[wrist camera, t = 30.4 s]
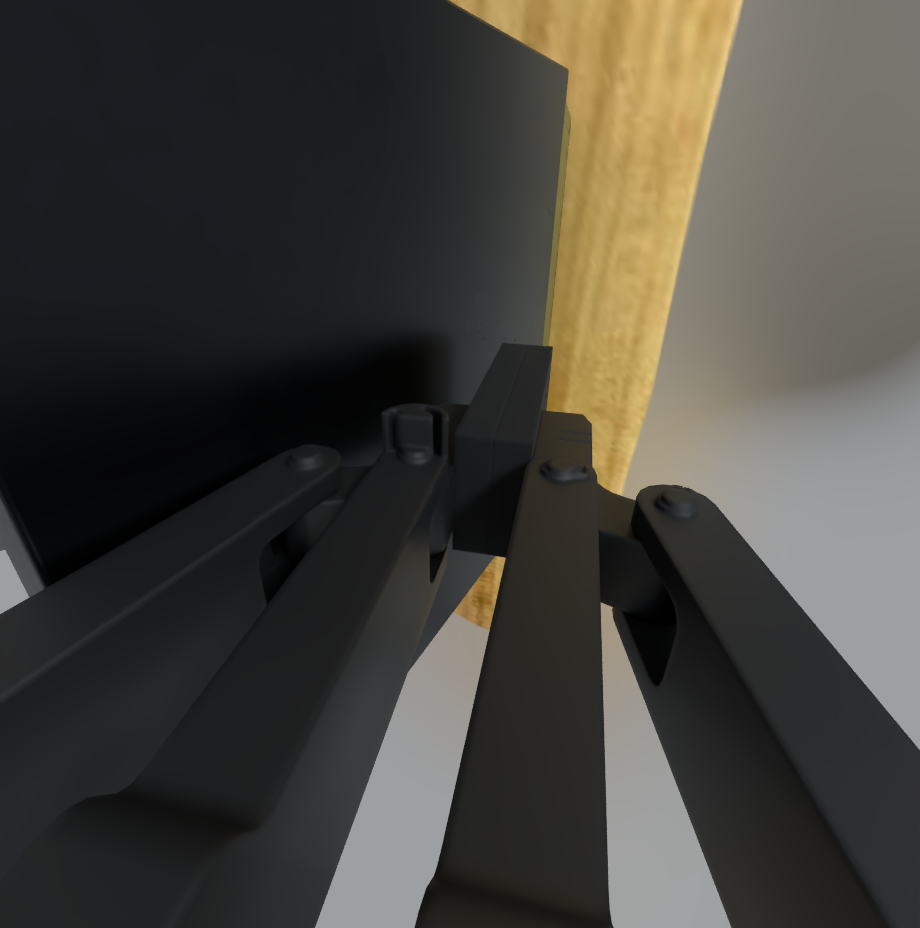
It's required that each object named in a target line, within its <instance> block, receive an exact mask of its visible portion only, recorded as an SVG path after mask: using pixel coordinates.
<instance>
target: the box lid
mask: <svg viewBox="0 0 920 928" xmlns="http://www.w3.org/2000/svg"><path fill="white" fill-rule="evenodd" d="M568 72H569V71H568V69H567V68H565V67H563V66H562V65H560V64H558V63H557V62H555V61H553V60H551V59H550V58H548V57H546V56H544V55H543V54H541V53H539V52H537V51H536V50H534V49H532V48H530V47H529V46H527V45H525V44H523V43H522V42H520V41H518V40H516V39H515V38H513V37H511V36H509V35H508V34H506V33H504V32H502V31H501V30H499V29H497V28H495V27H494V26H492V25H490V24H488V23H487V22H485V21H483V20H481V19H480V18H478V17H476V16H475V15H473V14H471V13H469V12H468V11H466V10H464V9H462V8H461V7H459V6H457V5H455V4H454V3H452V2H450V1H448V0H0V540H1V542H2V544H3V546H4V548H5V550H6V552H7V554H8V556H9V557H10V560H11V562H12V564H13V566H14V568H15V570H16V571H17V574H18V576H19V578H20V580H21V582H22V584H23V585H24V588H25V589H26V591H27V593H28V595H29V597H31V596H33V595H35V594H37V593H38V592H40V591H42V590H43V589H45V588H47V587H49V586H50V585H52V584H54V583H56V582H57V581H59V580H61V579H63V578H64V577H66V576H68V575H70V574H71V573H73V572H75V571H76V570H78V569H80V568H82V567H83V566H85V565H87V564H89V563H90V562H92V561H94V560H96V559H97V558H99V557H101V556H103V555H104V554H106V553H108V552H109V551H111V550H113V549H115V548H116V547H118V546H120V545H122V544H123V543H125V542H127V541H129V540H130V539H132V538H134V537H136V536H137V535H139V534H141V533H142V532H144V531H146V530H148V529H149V528H151V527H153V526H155V525H156V524H158V523H160V522H162V521H163V520H165V519H167V518H169V517H170V516H172V515H174V514H175V513H177V512H179V511H181V510H182V509H184V508H186V507H188V506H189V505H191V504H193V503H195V502H196V501H198V500H200V499H202V498H203V497H205V496H207V495H208V494H210V493H212V492H214V491H215V490H217V489H219V488H221V487H222V486H224V485H226V484H228V483H229V482H231V481H233V480H235V479H236V478H238V477H240V476H241V475H243V474H245V473H247V472H248V471H250V470H252V469H254V468H255V467H257V466H259V465H261V464H262V463H264V462H266V461H268V460H269V459H271V458H273V457H274V456H276V455H278V454H280V453H282V452H284V451H287V450H289V449H292V448H297V447H300V446H302V445H309V446H310V445H319V446H324V447H329V448H332V449H334V450H336V451H337V452H338V453H339V454H340V455H341V460H342V468H343V467H363V466H372V465H373V464H374V463H375V462H376V460H377V459H378V458H379V456H380V455H381V454H382V452H383V435H382V418H381V413H382V412H383V411H385V410H386V409H388V408H390V407H393V406H397V405H402V404H409V403H418V404H428V405H434V406H438V405H440V404H442V403H454V404H464V405H470V403H471V401H472V399H473V398H474V396H475V394H476V392H477V390H478V388H479V386H480V384H481V382H482V381H483V379H484V377H485V375H486V373H487V371H488V369H489V367H490V365H491V364H492V362H493V360H494V358H495V356H496V354H497V352H498V350H499V348H500V347H501V345H502V343H511V344H525V345H538V346H543V337H544V326H545V315H546V305H547V294H548V284H549V273H550V263H551V252H552V241H553V231H554V220H555V210H556V199H557V189H558V178H559V168H560V157H561V146H562V136H563V125H564V115H565V104H566V94H567V83H568ZM452 535H453V531H452V534H451V536H450V539H449V541H448V544H447V566H446V568H445V571H444V574H443V577H442V579H441V582H440V585H439V588H438V590H437V593H436V596H435V599H434V601H433V604H432V607H431V610H430V612H429V615H428V618H427V621H426V623H425V626H424V629H423V632H422V634H421V637H420V640H419V643H418V645H417V648H416V651H415V654H414V656H413V659H412V662H411V665H410V667H409V670H410V669H411V667H412V666H413V665H414V663H415V662H416V661H417V659H418V658H419V657H420V655H421V654H422V653H423V651H424V650H425V649H426V647H427V646H428V645H429V643H430V642H431V641H432V639H433V638H434V637H435V635H436V634H437V633H438V631H439V630H440V629H441V627H442V626H443V625H444V623H445V622H446V621H447V619H448V618H449V617H450V615H451V614H452V613H453V611H454V610H455V609H456V607H457V606H458V605H459V603H460V602H461V601H462V599H463V598H464V597H465V595H466V594H467V593H468V591H469V590H470V589H471V587H472V586H473V585H474V583H475V582H476V581H477V579H478V578H479V577H480V575H481V574H482V573H483V571H484V570H485V569H486V567H487V566H488V565H489V563H490V562H491V561H492V559H493V558H494V557H495V556H493V555H486V554H479V553H472V552H466V551H459V550H452ZM270 542H271V547H272V552H273V554H274V555H276V554H278V553H280V552H281V551H282V550H284V549H285V544H284V538H283V532H281V533H280V534H278V535H277V536H276V537H274V538H273V539H272V540H271V541H270ZM409 670H408V671H409Z"/></svg>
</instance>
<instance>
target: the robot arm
mask: <svg viewBox="0 0 920 928" xmlns="http://www.w3.org/2000/svg"><path fill="white" fill-rule="evenodd" d="M552 350H553V347H551V346H538V345H525V344H511V343H502V345H501V347H500V348H499V350H498V352H497V354H496V356H495V358H494V360H493V362H492V364H491V365H490V367H489V369H488V371H487V373H486V375H485V377H484V379H483V381H482V382H481V384H480V386H479V388H478V390H477V392H476V394H475V396H474V398H473V399H472V401H471V403H470V405H464V404H454V403H442V404H440V405H438V406H434V405H428V404H418V403H409V404H402V405H397V406H393V407H390V408H388V409H386V410H385V411H383V412H382V413H381V418H382V435H383V452H382V454H381V455H380V456H379V458H378V459H377V460H376V462H375V463H374V464H373V465H372V466H363V467H343V468H342V460H341V455H340V454H339V453H338V452H337V451H336V450H334V449H332V448H329V447H324V446H319V445H310V446H309V445H302V446H300V447H297V448H292V449H289V450H287V451H284V452H282V453H280V454H278V455H276V456H274V457H273V458H271V459H269V460H268V461H266V462H264V463H262V464H261V465H259V466H257V467H255V468H254V469H252V470H250V471H248V472H247V473H245V474H243V475H241V476H240V477H238V478H236V479H235V480H233V481H231V482H229V483H228V484H226V485H224V486H222V487H221V488H219V489H217V490H215V491H214V492H212V493H210V494H208V495H207V496H205V497H203V498H202V499H200V500H198V501H196V502H195V503H193V504H191V505H189V506H188V507H186V508H184V509H182V510H181V511H179V512H177V513H175V514H174V515H172V516H170V517H169V518H167V519H165V520H163V521H162V522H160V523H158V524H156V525H155V526H153V527H151V528H149V529H148V530H146V531H144V532H142V533H141V534H139V535H137V536H136V537H134V538H132V539H130V540H129V541H127V542H125V543H123V544H122V545H120V546H118V547H116V548H115V549H113V550H111V551H109V552H108V553H106V554H104V555H103V556H101V557H99V558H97V559H96V560H94V561H92V562H90V563H89V564H87V565H85V566H83V567H82V568H80V569H78V570H76V571H75V572H73V573H71V574H70V575H68V576H66V577H64V578H63V579H61V580H59V581H57V582H56V583H54V584H52V585H50V586H49V587H47V588H45V589H43V590H42V591H40V592H38V593H37V594H35V595H33V596H31V597H30V598H28V599H26V600H24V601H23V602H21V603H19V604H18V605H16V606H14V607H12V608H11V609H9V610H7V611H5V612H4V613H2V614H0V928H315V926H316V923H317V920H318V918H319V915H320V912H321V909H322V906H323V904H324V901H325V898H326V895H327V893H328V890H329V887H330V885H331V882H332V879H333V876H334V874H335V871H336V868H337V865H338V863H339V860H340V857H341V854H342V852H343V849H344V846H345V843H346V840H347V838H348V835H349V832H350V829H351V827H352V824H353V821H354V819H355V816H356V813H357V810H358V808H359V805H360V802H361V799H362V797H363V794H364V791H365V788H366V786H367V783H368V780H369V777H370V775H371V772H372V769H373V766H374V763H375V761H376V758H377V755H378V753H379V750H380V747H381V744H382V742H383V739H384V736H385V733H386V730H387V728H388V725H389V722H390V720H391V717H392V714H393V711H394V709H395V706H396V703H397V700H398V697H399V695H400V692H401V689H402V687H403V684H404V681H405V678H406V676H407V673H408V670H409V667H410V665H411V662H412V659H413V656H414V654H415V651H416V648H417V645H418V643H419V640H420V637H421V634H422V632H423V629H424V626H425V623H426V621H427V618H428V615H429V612H430V610H431V607H432V604H433V601H434V599H435V596H436V593H437V590H438V588H439V585H440V582H441V579H442V577H443V574H444V571H445V568H446V566H447V544H448V541H449V539H450V536H451V534H452V531H453V535H452V550H459V551H466V552H472V553H479V554H486V555H493V556H499V557H506V559H505V564H504V569H503V573H502V578H501V582H500V587H499V591H498V596H497V600H496V605H495V609H494V614H493V618H492V623H491V627H490V632H489V636H488V641H487V645H486V650H485V655H484V659H483V663H482V668H481V673H480V677H479V682H478V686H477V691H476V695H475V700H474V704H473V709H472V713H471V718H470V723H469V727H468V732H467V736H466V740H465V745H464V749H463V754H462V758H461V763H460V768H459V772H458V777H457V781H456V786H455V790H454V795H453V799H452V804H451V808H450V813H449V817H448V822H447V826H446V831H445V835H444V840H443V845H442V849H441V853H440V857H439V861H438V865H437V868H436V872H435V874H434V877H433V878H432V880H431V881H430V883H429V885H428V886H427V888H426V891H425V894H424V897H423V900H422V903H421V906H420V909H419V913H418V917H417V921H416V925H415V928H613V925H612V922H611V916H610V909H609V891H608V856H607V820H606V786H605V785H606V783H605V748H604V712H603V675H602V640H601V606H600V605H601V604H600V602H601V603H604V604H606V605H609V606H611V607H613V609H612V611H613V619H614V622H615V625H616V627H617V630H618V632H619V635H620V638H621V640H622V643H623V645H624V648H625V651H626V653H627V656H628V659H629V661H630V663H631V666H632V668H633V672H634V674H635V677H636V679H637V682H638V685H639V687H640V690H641V692H642V695H643V698H644V700H645V703H646V705H647V708H648V711H649V713H650V716H651V718H652V721H653V724H654V726H655V729H656V732H657V734H658V737H659V739H660V742H661V744H662V747H663V750H664V752H665V755H666V758H667V760H668V763H669V766H670V768H671V771H672V773H673V776H674V779H675V781H676V784H677V786H678V789H679V792H680V794H681V797H682V799H683V802H684V805H685V807H686V809H687V812H688V815H689V817H690V820H691V823H692V825H693V828H694V830H695V833H696V836H697V838H698V841H699V844H700V846H701V849H702V852H703V854H704V857H705V859H706V862H707V865H708V867H709V870H710V872H711V875H712V878H713V880H714V883H715V885H716V888H717V891H718V893H719V896H720V899H721V901H722V904H723V906H724V909H725V912H726V914H727V917H728V920H729V922H730V925H731V927H732V928H920V750H919V749H918V748H917V746H915V744H914V743H913V742H912V740H911V739H910V738H909V737H908V736H907V734H906V733H905V732H904V731H903V730H902V728H901V727H900V726H899V725H898V724H897V722H896V721H895V720H894V719H893V718H892V716H891V715H890V714H889V713H888V712H887V710H886V709H885V708H884V707H883V705H882V704H881V703H880V702H879V701H878V700H877V698H876V697H875V696H874V695H873V693H872V692H871V691H870V690H869V689H868V687H867V686H866V685H865V684H864V683H863V681H862V680H861V679H860V678H859V677H858V675H857V674H856V673H855V672H854V671H853V669H852V668H851V667H850V666H849V665H848V664H847V662H846V661H845V660H844V659H843V657H842V656H841V655H840V654H839V653H838V652H837V650H836V649H835V648H834V647H833V645H832V644H831V643H830V642H829V641H828V640H827V638H826V637H825V636H824V635H823V633H822V632H821V631H820V630H819V629H818V628H817V626H816V625H815V624H814V623H813V621H812V620H811V619H810V618H809V617H808V615H807V614H806V613H805V612H804V611H803V609H802V608H801V607H800V606H799V605H798V604H797V602H796V601H795V600H794V599H793V597H792V596H791V595H790V594H789V593H788V591H787V590H786V589H785V588H784V587H783V585H782V584H781V583H780V582H779V581H778V579H777V578H776V577H775V576H774V575H773V573H772V572H771V571H770V570H769V568H768V567H767V566H766V565H765V564H764V562H763V561H762V560H761V559H760V558H759V556H758V555H757V554H756V553H755V552H754V550H753V549H752V548H751V547H750V546H749V544H748V543H747V542H746V541H745V540H744V539H743V537H742V536H741V535H740V534H739V533H738V531H737V530H736V529H735V528H734V527H733V525H732V524H731V523H730V522H729V520H728V519H727V518H726V517H725V516H724V514H723V513H722V512H721V511H720V510H719V508H718V507H717V506H716V505H715V504H714V503H713V502H712V501H710V500H709V499H708V498H707V497H706V496H704V495H701V494H699V493H697V492H695V491H694V490H692V489H689V488H686V487H684V488H683V487H682V486H678V485H654V486H648V487H646V488H644V489H642V490H640V492H639V493H638V495H637V497H636V500H632V499H629V498H626V497H623V496H620V495H617V494H614V493H612V492H610V491H608V490H607V489H605V488H603V487H602V486H601V485H600V484H598V483H597V475H596V472H595V470H594V468H592V424H591V423H590V422H589V421H588V420H587V419H586V417H585V416H584V415H582V414H572V413H562V412H551V411H546V407H547V398H548V388H549V379H550V369H551V360H552ZM281 532H283V538H284V544H285V549H284V550H282V551H281V552H280V553H278V554H276V555H274V554H273V552H272V547H271V542H270V541H271V540H272V539H273V538H274V537H276V536H277V535H278V534H280V533H281ZM1 550H5V548H4V546H3V544H2V542H1V540H0V551H1Z"/></svg>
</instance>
